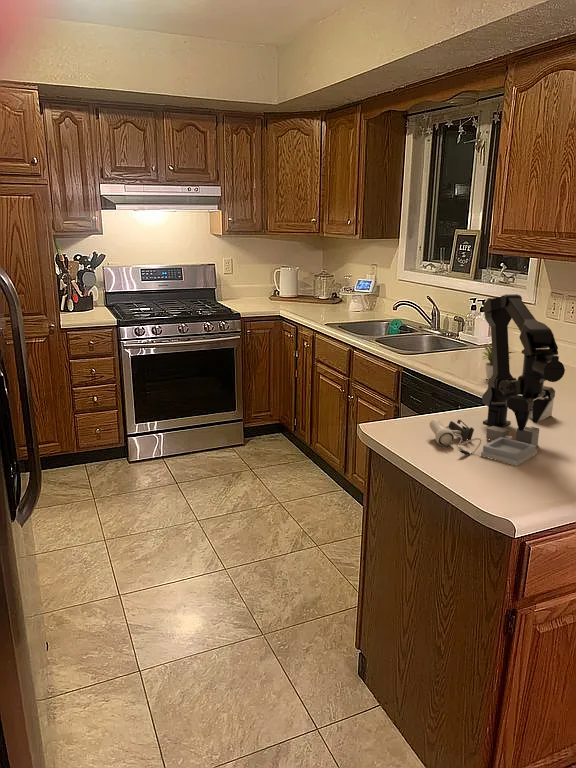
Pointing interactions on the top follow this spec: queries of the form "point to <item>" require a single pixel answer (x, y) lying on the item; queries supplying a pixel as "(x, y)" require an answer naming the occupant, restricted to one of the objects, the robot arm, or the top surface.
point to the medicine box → (547, 412)
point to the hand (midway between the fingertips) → (528, 426)
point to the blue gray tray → (509, 451)
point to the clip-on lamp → (452, 433)
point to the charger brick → (528, 435)
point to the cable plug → (497, 433)
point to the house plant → (490, 365)
